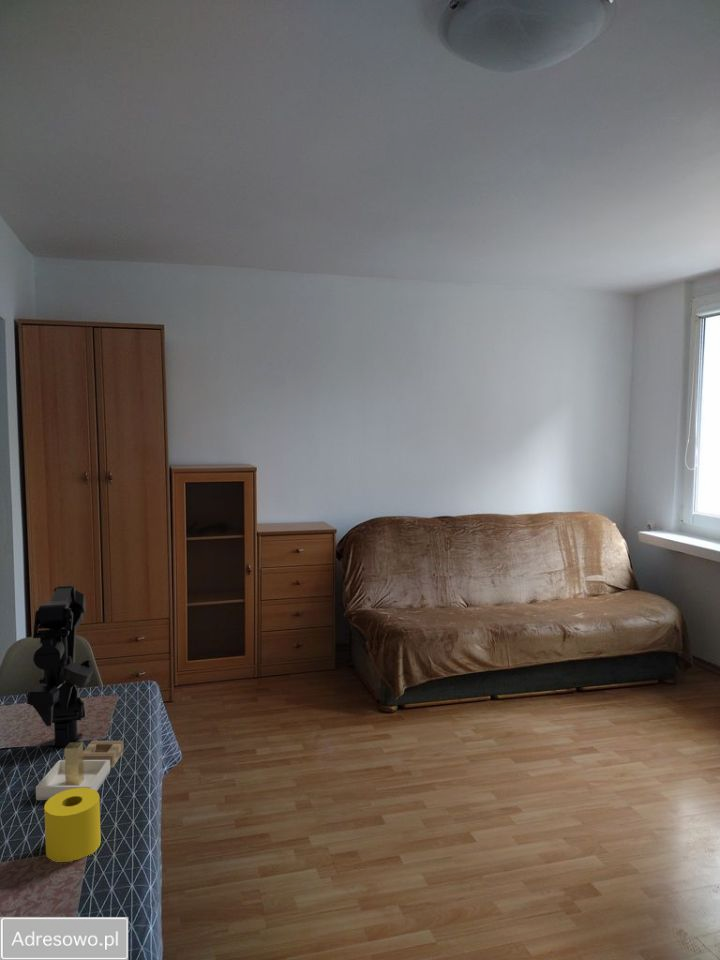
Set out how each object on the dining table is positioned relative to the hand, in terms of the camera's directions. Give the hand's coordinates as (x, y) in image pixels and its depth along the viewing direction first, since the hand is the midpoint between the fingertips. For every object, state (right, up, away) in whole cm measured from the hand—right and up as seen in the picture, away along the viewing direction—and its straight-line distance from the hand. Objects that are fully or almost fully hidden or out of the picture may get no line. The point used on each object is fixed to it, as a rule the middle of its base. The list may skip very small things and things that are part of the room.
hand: (57, 717), depth 166 cm
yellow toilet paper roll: (+18, -15, -32) cm, 39 cm away
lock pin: (+8, -12, -9) cm, 17 cm away
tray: (+8, -13, -9) cm, 17 cm away
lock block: (+10, -12, +3) cm, 16 cm away
